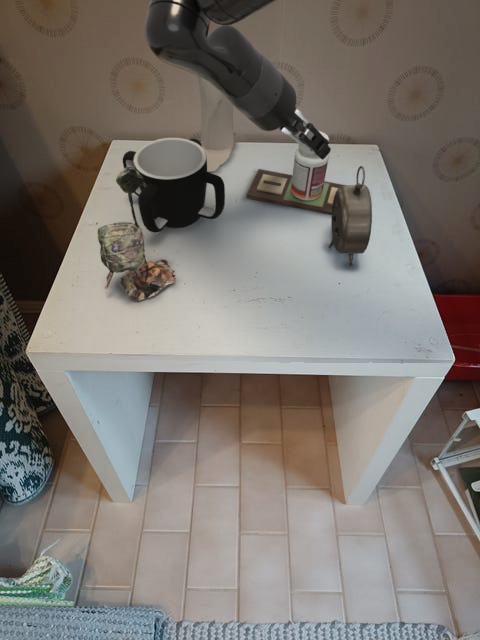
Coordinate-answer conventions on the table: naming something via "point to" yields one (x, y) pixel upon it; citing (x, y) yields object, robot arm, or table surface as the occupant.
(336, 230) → the alarm clock
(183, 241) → the table surface
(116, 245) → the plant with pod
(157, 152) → the mug
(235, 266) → the table surface
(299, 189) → the pill bottle
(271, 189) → the board
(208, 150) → the candle
